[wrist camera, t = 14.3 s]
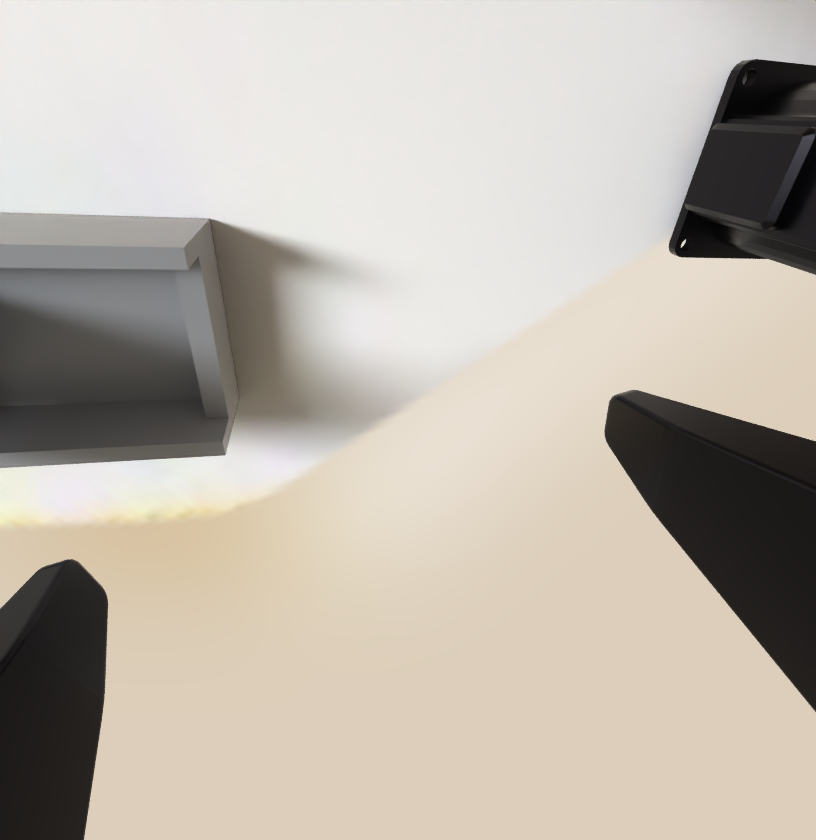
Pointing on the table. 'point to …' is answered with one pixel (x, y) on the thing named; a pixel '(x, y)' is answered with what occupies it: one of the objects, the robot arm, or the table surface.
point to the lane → (111, 340)
